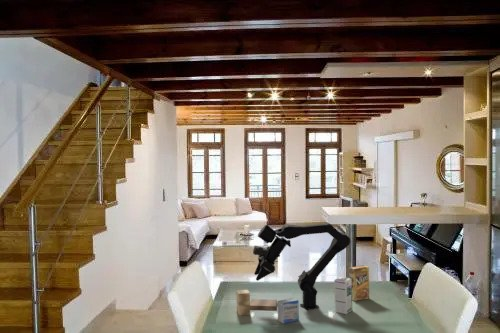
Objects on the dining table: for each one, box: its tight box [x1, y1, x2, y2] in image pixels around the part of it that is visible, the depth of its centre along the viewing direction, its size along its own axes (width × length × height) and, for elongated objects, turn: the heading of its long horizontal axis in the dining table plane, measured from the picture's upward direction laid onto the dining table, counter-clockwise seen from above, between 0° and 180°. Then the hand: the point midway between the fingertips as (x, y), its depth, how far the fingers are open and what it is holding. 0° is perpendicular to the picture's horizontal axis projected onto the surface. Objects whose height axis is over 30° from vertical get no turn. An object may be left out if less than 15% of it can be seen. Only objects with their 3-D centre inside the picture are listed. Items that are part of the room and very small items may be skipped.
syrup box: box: [333, 276, 353, 315], centre depth 193 cm, size 6×6×14 cm
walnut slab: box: [250, 298, 278, 310], centre depth 202 cm, size 12×9×2 cm
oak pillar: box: [235, 289, 251, 316], centre depth 194 cm, size 5×5×10 cm
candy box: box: [348, 264, 370, 302], centre depth 210 cm, size 9×4×15 cm, turn 113°
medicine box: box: [277, 297, 300, 325], centre depth 184 cm, size 8×4×9 cm, turn 117°
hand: (255, 277), depth 198 cm, fingers open, 9 cm apart
